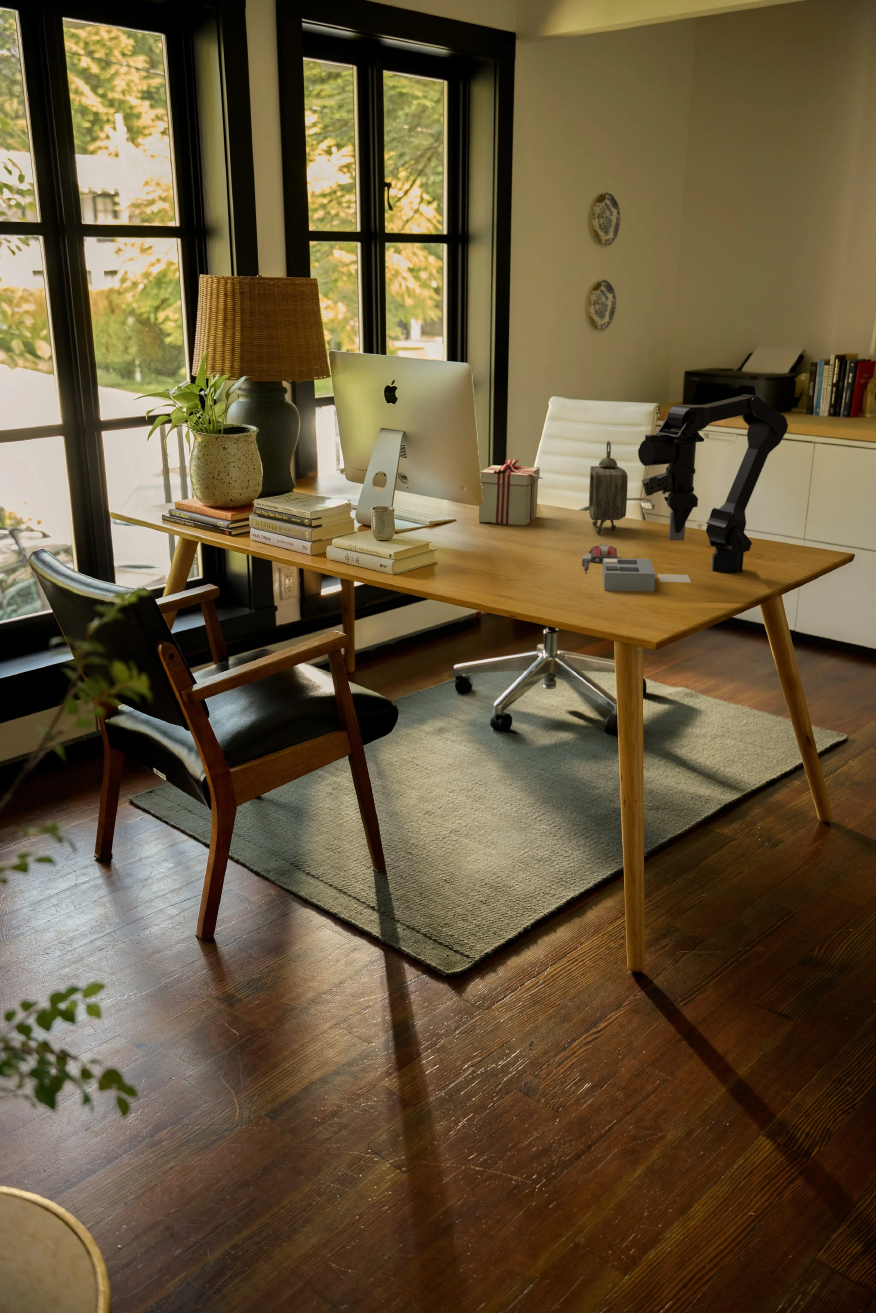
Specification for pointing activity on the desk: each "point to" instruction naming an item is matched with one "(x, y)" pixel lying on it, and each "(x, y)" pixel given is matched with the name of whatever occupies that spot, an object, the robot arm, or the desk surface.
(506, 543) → the desk surface
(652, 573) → the port block
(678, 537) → the plug
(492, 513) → the gift box
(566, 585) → the desk surface
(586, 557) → the red grey elongated piece
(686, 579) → the plate
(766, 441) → the robot arm
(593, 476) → the tabletop clock
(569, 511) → the desk surface
